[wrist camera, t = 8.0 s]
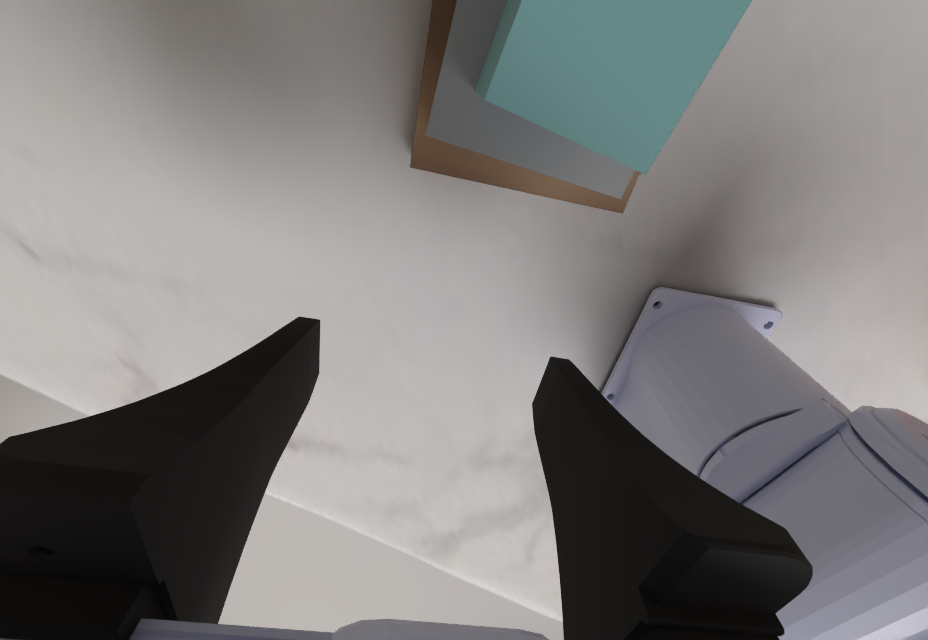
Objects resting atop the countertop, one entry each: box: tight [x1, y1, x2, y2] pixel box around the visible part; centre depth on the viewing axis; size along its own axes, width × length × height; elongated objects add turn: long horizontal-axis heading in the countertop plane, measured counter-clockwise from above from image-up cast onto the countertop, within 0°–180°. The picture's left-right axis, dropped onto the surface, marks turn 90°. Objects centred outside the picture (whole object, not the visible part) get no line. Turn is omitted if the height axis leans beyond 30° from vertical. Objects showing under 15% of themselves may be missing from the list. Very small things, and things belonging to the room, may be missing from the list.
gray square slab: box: [425, 0, 635, 199], centre depth 15 cm, size 8×8×2 cm
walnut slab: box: [410, 0, 640, 213], centre depth 17 cm, size 10×10×2 cm
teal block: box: [474, 0, 752, 175], centre depth 11 cm, size 4×4×6 cm
